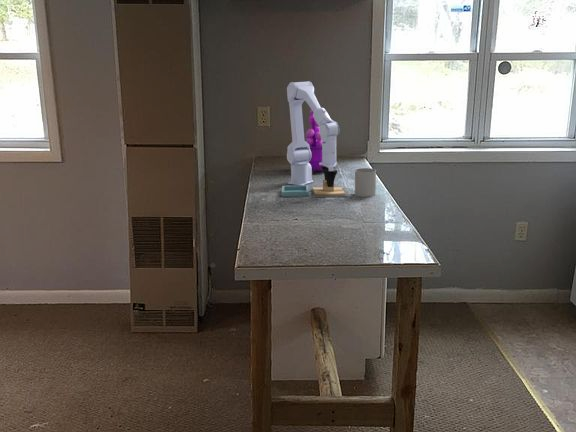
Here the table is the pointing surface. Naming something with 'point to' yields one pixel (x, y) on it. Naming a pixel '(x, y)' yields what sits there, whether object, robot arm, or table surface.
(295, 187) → the teal dish
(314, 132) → the decorative plant
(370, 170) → the cup
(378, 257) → the table surface
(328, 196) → the rubber mat
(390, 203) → the table surface
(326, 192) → the oak cover
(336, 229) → the table surface
